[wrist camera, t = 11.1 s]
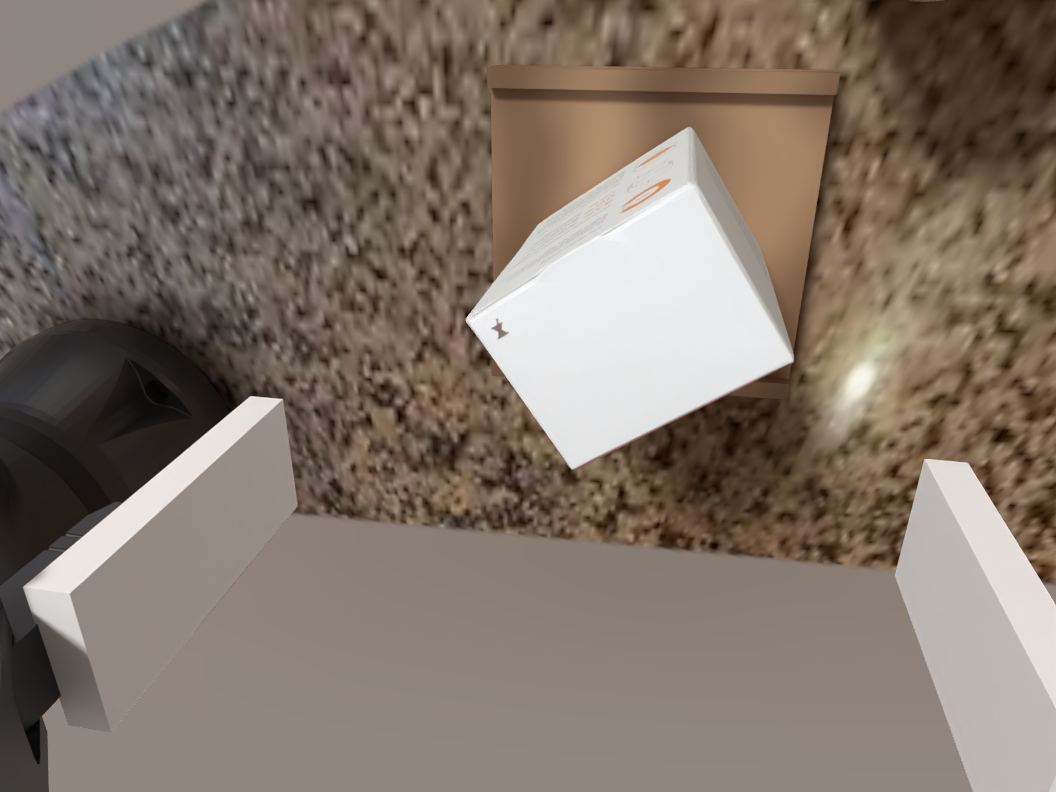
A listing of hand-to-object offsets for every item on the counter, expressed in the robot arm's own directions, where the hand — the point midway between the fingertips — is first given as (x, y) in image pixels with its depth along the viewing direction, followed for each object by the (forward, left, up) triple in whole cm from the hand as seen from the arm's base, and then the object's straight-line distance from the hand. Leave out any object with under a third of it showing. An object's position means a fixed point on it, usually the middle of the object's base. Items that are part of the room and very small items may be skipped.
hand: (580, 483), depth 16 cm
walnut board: (0, 0, -23) cm, 23 cm away
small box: (0, 0, -21) cm, 21 cm away
